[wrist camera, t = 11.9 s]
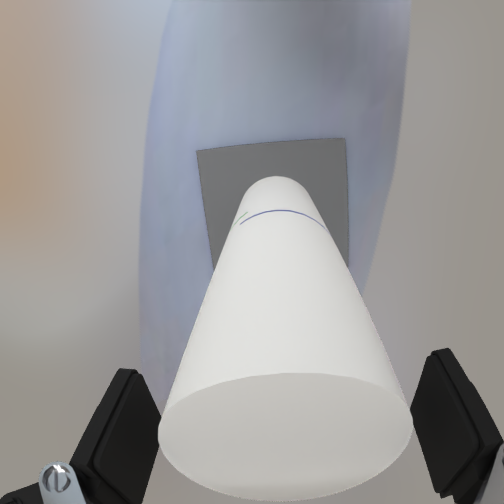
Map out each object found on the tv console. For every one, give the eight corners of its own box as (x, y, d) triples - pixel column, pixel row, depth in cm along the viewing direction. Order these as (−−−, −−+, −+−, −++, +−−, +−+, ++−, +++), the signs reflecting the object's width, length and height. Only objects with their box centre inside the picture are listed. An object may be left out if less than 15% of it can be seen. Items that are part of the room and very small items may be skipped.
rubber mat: (198, 150, 29) (196, 151, 29) (343, 138, 28) (344, 138, 27) (217, 280, 34) (216, 284, 34) (346, 271, 33) (347, 274, 32)
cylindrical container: (324, 230, 31) (419, 466, 8) (259, 258, 32) (234, 509, 9) (295, 163, 28) (391, 322, 5) (227, 195, 30) (106, 406, 7)
